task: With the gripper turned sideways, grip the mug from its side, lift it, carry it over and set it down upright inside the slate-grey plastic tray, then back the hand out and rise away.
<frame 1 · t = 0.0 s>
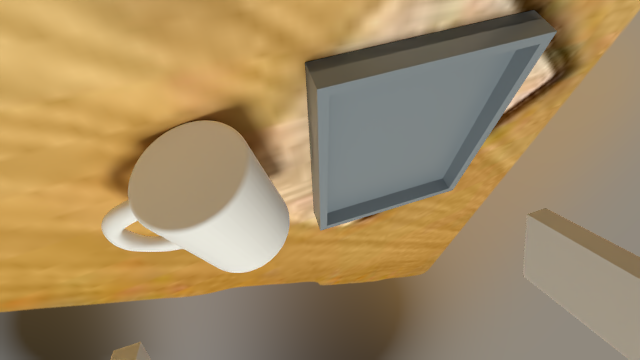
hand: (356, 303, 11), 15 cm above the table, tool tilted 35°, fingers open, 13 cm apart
tray: (396, 136, 33), on the table
mug: (188, 168, 28), on the table
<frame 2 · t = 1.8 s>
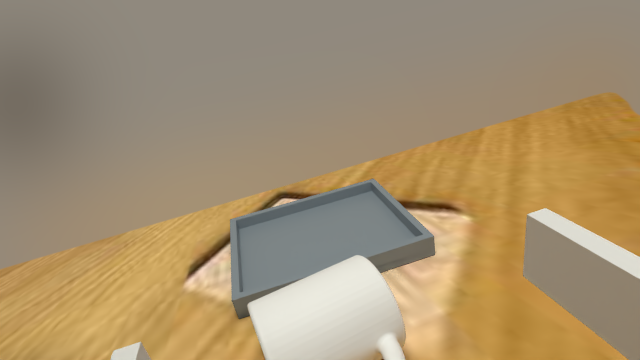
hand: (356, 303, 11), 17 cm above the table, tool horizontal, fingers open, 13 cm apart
tray: (321, 242, 44), on the table
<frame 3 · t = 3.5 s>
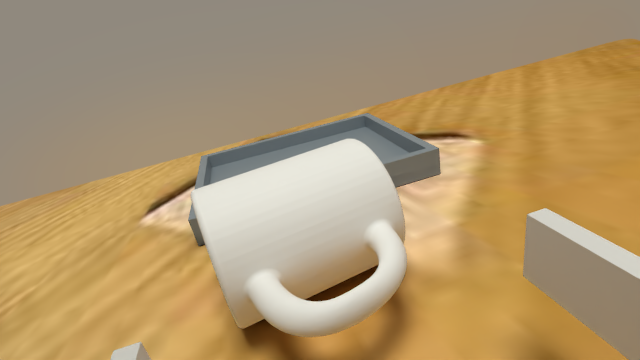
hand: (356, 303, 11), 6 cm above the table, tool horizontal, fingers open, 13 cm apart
tray: (305, 174, 38), on the table
mug: (323, 299, 21), on the table
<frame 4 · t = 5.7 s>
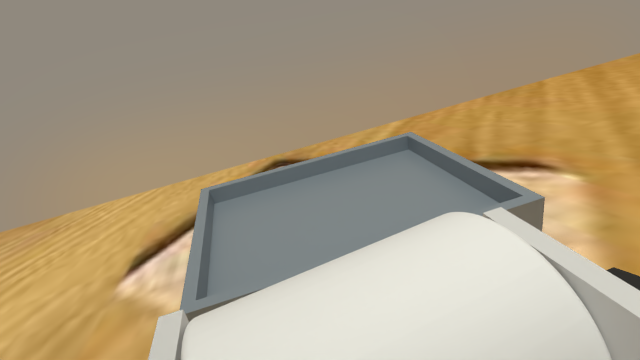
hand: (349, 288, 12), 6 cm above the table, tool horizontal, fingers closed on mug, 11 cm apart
tray: (339, 219, 28), on the table
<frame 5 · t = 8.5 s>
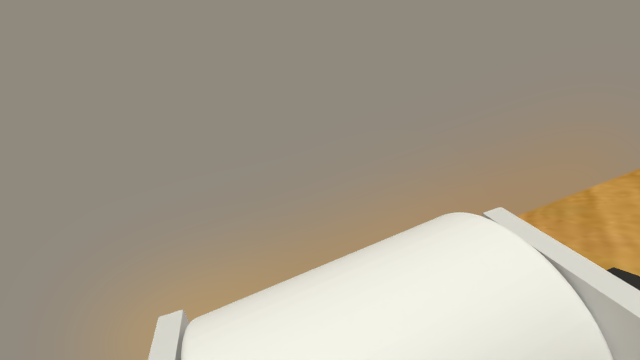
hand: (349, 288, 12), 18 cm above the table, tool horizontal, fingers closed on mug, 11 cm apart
when the fingers open (8 cm above the table, at t = 11.2 s): mug drops 1 cm, resting on tray.
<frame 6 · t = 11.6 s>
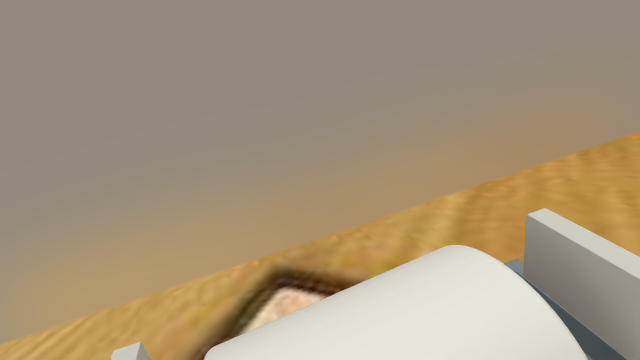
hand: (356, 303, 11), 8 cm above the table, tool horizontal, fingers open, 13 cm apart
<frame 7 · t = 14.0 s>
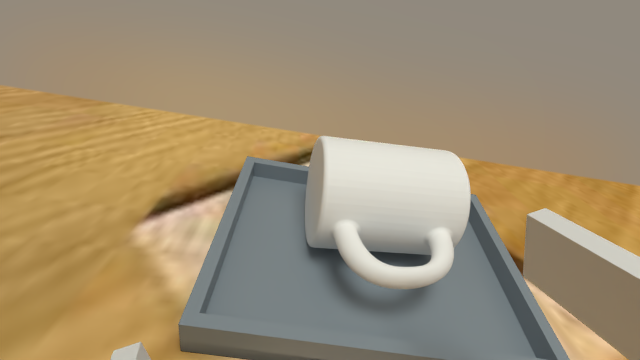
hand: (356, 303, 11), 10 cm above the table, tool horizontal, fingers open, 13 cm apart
tray: (364, 262, 27), on the table
mug: (370, 256, 26), point 1 cm above the table, touching tray
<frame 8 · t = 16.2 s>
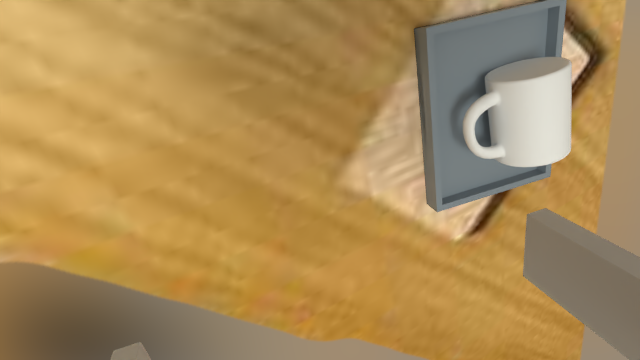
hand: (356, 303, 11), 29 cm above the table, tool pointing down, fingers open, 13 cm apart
tray: (482, 108, 43), on the table
mug: (487, 111, 43), point 1 cm above the table, touching tray
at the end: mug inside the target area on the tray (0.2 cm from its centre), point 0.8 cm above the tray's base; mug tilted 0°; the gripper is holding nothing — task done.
